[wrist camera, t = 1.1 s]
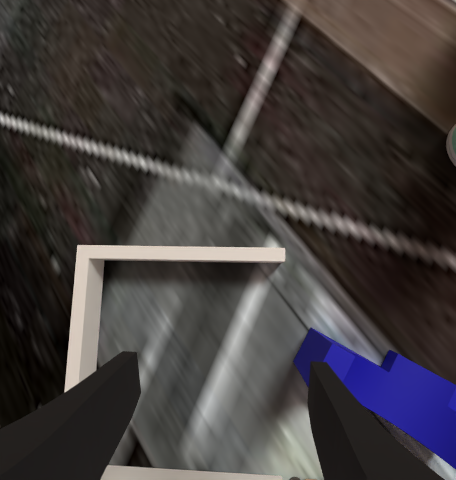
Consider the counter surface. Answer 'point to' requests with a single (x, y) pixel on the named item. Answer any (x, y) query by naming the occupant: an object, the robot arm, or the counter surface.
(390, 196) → the counter surface
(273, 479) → the cream square rimmed piece
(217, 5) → the counter surface
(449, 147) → the spray can
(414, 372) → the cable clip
